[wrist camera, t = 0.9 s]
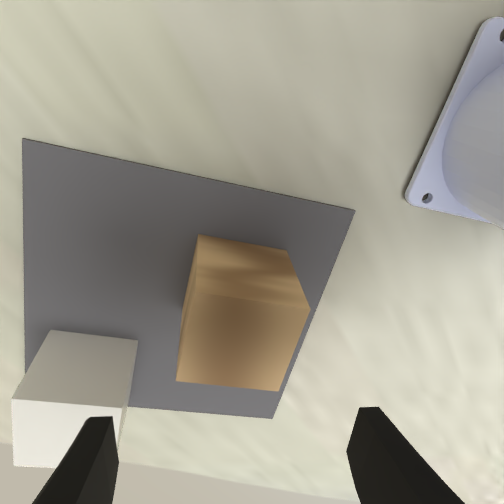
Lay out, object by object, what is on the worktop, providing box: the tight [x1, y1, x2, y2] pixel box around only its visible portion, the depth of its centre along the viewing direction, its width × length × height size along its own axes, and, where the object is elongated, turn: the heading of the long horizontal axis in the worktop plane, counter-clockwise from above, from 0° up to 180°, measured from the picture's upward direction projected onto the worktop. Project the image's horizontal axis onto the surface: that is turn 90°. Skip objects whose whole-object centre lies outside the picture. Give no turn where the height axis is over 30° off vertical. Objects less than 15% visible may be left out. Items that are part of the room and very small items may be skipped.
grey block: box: [11, 330, 138, 468], centre depth 19 cm, size 4×4×4 cm
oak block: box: [176, 234, 310, 391], centre depth 17 cm, size 4×4×5 cm
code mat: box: [22, 138, 355, 419], centre depth 20 cm, size 15×15×1 cm
